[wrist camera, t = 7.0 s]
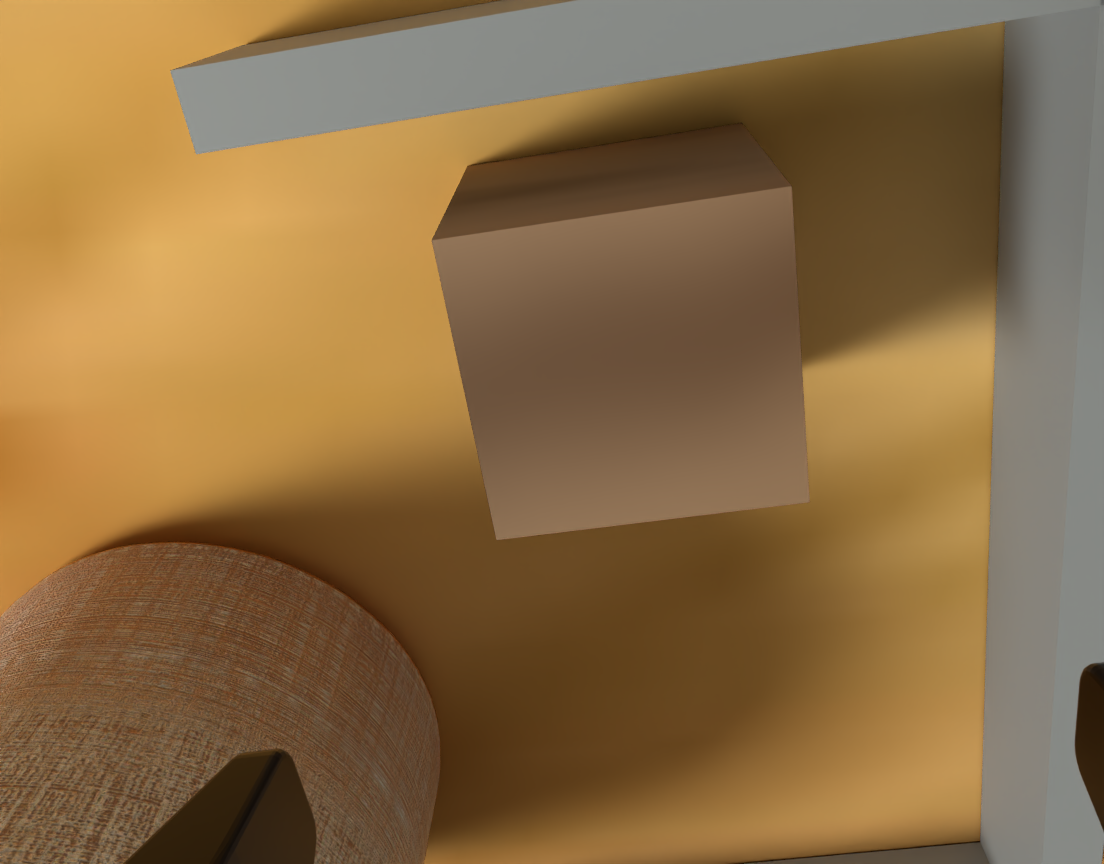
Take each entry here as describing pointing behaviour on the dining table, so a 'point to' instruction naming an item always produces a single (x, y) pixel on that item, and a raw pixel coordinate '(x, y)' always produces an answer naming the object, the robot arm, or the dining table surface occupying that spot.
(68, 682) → the planter
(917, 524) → the dining table surface
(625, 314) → the walnut block
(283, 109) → the tray bay
